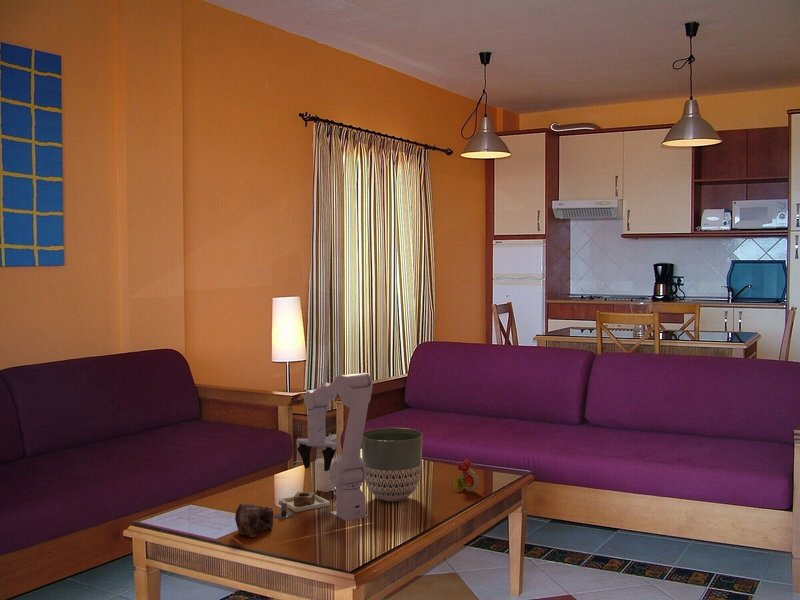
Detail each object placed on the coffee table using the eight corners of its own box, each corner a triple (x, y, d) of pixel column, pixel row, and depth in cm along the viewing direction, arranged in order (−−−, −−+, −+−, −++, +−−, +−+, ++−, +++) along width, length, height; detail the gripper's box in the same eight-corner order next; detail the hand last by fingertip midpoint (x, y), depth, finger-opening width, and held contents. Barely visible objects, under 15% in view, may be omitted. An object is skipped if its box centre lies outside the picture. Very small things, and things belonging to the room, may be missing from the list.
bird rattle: (477, 496, 282) (457, 481, 286) (489, 468, 278) (468, 454, 283) (467, 500, 277) (447, 485, 281) (479, 472, 273) (457, 457, 278)
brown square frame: (314, 501, 267) (314, 492, 267) (310, 508, 261) (310, 498, 260) (297, 501, 268) (297, 492, 268) (292, 507, 261) (292, 498, 261)
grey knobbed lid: (298, 517, 253) (298, 503, 252) (278, 521, 249) (278, 507, 249) (288, 512, 258) (288, 498, 258) (269, 515, 254) (269, 502, 254)
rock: (276, 535, 240) (251, 528, 246) (280, 505, 241) (255, 499, 247) (247, 540, 231) (222, 532, 237) (251, 509, 231) (226, 502, 237)
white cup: (310, 491, 281) (310, 461, 280) (323, 485, 288) (323, 456, 287) (330, 494, 277) (330, 464, 277) (343, 488, 284) (343, 459, 284)
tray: (330, 506, 263) (330, 501, 263) (295, 513, 257) (295, 508, 257) (312, 497, 273) (312, 493, 273) (278, 503, 267) (278, 499, 267)
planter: (351, 495, 275) (351, 431, 274) (405, 487, 284) (404, 425, 283) (378, 512, 258) (377, 443, 256) (434, 503, 267) (433, 436, 266)
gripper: (290, 427, 270) (291, 469, 271) (329, 432, 263) (329, 474, 264) (302, 423, 276) (303, 464, 277) (340, 427, 270) (341, 469, 270)
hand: (317, 469), depth 271 cm, fingers open, 7 cm apart
